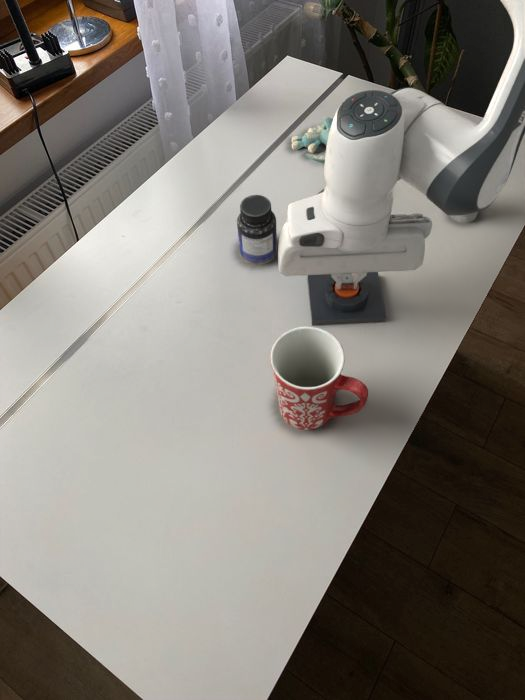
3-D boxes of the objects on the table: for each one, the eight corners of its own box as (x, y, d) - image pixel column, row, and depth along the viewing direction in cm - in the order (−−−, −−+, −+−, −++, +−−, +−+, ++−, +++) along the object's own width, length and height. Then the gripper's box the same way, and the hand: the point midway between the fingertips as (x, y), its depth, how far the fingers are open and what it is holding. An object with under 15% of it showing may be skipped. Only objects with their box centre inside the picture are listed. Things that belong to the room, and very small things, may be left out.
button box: (376, 280, 96) (379, 263, 92) (384, 325, 91) (388, 309, 87) (306, 283, 96) (307, 266, 92) (311, 329, 91) (312, 313, 87)
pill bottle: (248, 237, 102) (244, 187, 92) (282, 246, 100) (281, 196, 91) (234, 263, 98) (228, 213, 89) (269, 273, 97) (267, 223, 88)
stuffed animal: (287, 106, 112) (352, 94, 110) (294, 138, 118) (355, 127, 116) (287, 143, 106) (355, 132, 104) (294, 175, 112) (359, 164, 110)
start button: (356, 284, 92) (357, 276, 91) (359, 302, 90) (360, 295, 89) (332, 285, 92) (333, 277, 91) (335, 303, 90) (336, 296, 89)
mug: (260, 420, 83) (256, 368, 71) (292, 371, 87) (292, 315, 75) (343, 462, 79) (352, 415, 67) (372, 409, 83) (385, 356, 72)
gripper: (430, 197, 80) (412, 266, 91) (276, 204, 80) (277, 272, 91) (440, 231, 76) (419, 299, 88) (278, 239, 76) (279, 305, 88)
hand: (346, 285), depth 90 cm, fingers closed, pressing on start button
